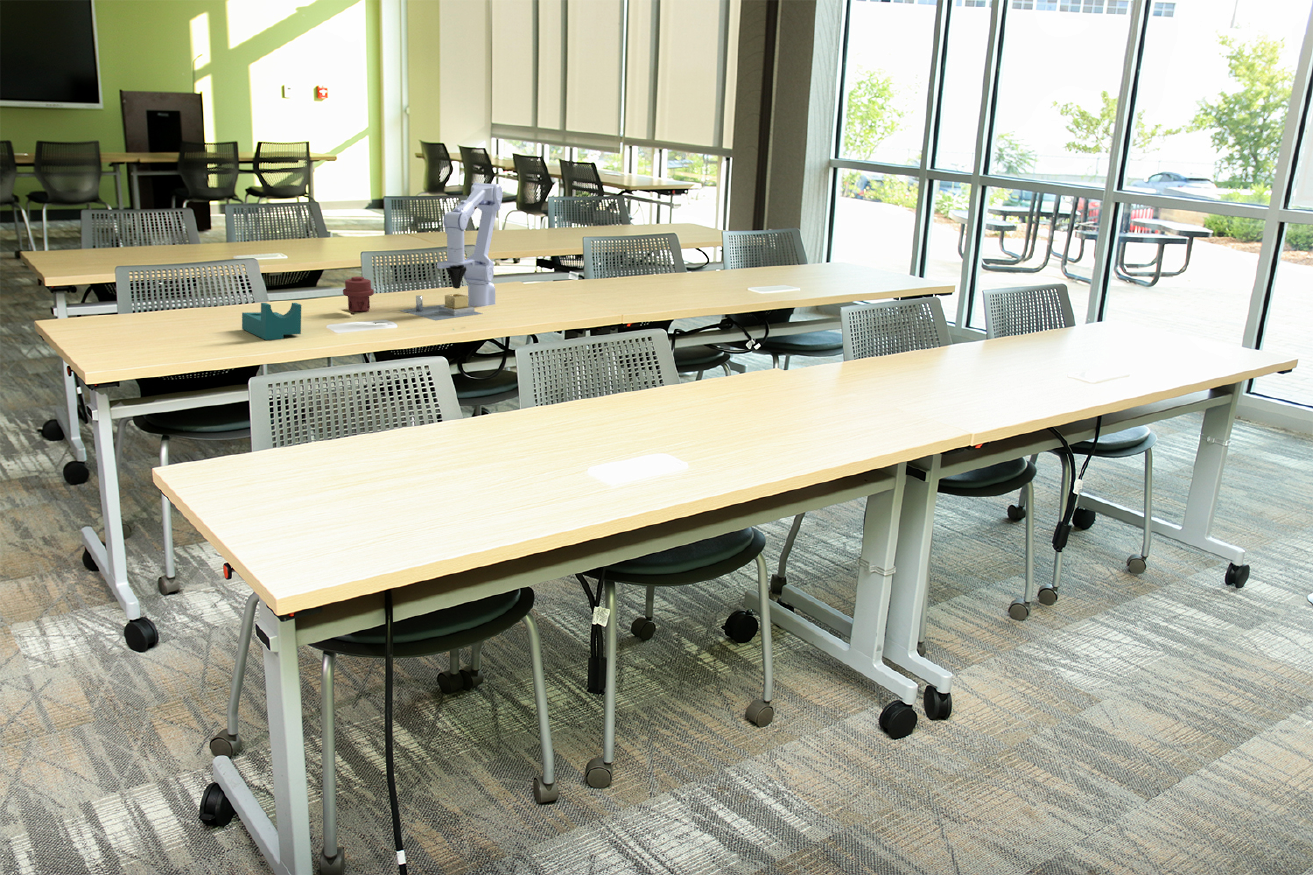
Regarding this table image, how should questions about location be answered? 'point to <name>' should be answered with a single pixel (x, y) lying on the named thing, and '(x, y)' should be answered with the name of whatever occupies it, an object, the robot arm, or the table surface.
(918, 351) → the table surface
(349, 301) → the mechanical component
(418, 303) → the steel rod
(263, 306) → the teal l-shaped bracket
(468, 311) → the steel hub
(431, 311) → the board
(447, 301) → the brass collar
